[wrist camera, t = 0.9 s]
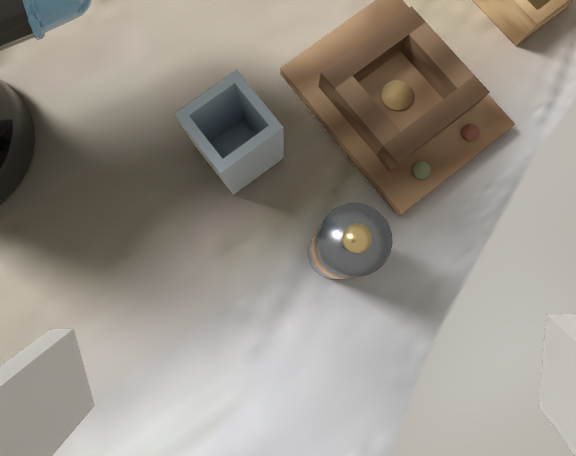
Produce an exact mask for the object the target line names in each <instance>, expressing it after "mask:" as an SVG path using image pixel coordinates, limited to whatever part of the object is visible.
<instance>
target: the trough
mask: <svg viewBox="0 0 576 456" xmlns="http://www.w3.org/2000/svg"><path fill="white" fill-rule="evenodd" d="M473 1H474V2H475V3H476V4H477V5H478V6H479V7H480V8H481V10H482V11H483V12H484V13H485V14H486V15H487V16H488V17H489V18H490V19H491V20H492V21H493V22H494V23H495V24H496V25H497V27H498V28H499V29H500V30H501V31H502V32H503V33H504V34H505V35H506V36H507V37H508V38H509V39H510V40H511V41H512V43H513V44H514V45H515V46H517V45H518V44H519V43H521V42H522V41H523V40H525V39H526V38H527V37H529V36H530V35H531V34H533V33H534V32H535V31H536V30H538V29H539V28H540V27H542V26H543V25H544V24H546V23H547V22H548V21H550V20H551V19H552V18H554V17H555V16H556V15H557V14H559V13H560V12H561V11H563V10H564V9H565V8H567V7H568V6H569V5H570V4H571V3H572V2H573V1H574V0H473Z"/></svg>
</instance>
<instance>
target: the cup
mask: <svg viewBox="0 0 576 456" xmlns="http://www.w3.org/2000/svg"><path fill="white" fill-rule="evenodd" d="M175 116H176V117H177V119H178V120H179V122H180V124H181V125H182V127H183V128H184V130H185V131H186V133H187V134H188V136H189V137H190V139H191V141H192V142H193V144H194V145H195V147H196V148H197V149H198V151H199V152H200V153H201V155H202V156H203V157H204V158H205V160H206V161H207V162H208V164H209V165H210V166H211V167H212V169H213V170H214V171H215V173H216V174H217V175H218V177H219V178H220V179H221V180H222V182H223V183H224V184H225V186H226V187H227V188H228V189H229V191H230V192H231V193H232V195H234V194H236V193H237V192H238V191H240V190H241V189H242V188H244V187H245V186H247V185H248V184H249V183H251V182H252V181H253V180H255V179H256V178H257V177H259V176H260V175H261V174H263V173H264V172H265V171H267V170H268V169H269V168H271V167H272V166H273V165H275V164H276V163H278V162H279V161H280V160H282V159H283V158H284V127H283V126H282V125H281V123H280V122H279V121H278V120H277V118H276V117H275V116H274V115H273V114H272V112H271V111H270V110H269V109H268V107H267V106H266V105H265V104H264V103H263V101H262V100H261V99H260V98H259V96H258V95H257V94H256V93H255V92H254V90H253V89H252V88H251V87H250V85H249V84H248V83H247V82H246V80H245V79H244V78H243V77H242V76H241V74H240V73H239V72H238V71H237V70H236V71H234V72H233V73H232V74H230V75H229V76H227V77H226V78H224V79H223V80H222V81H220V82H219V83H217V84H216V85H214V86H213V87H212V88H210V89H209V90H207V91H206V92H205V93H203V94H202V95H200V96H199V97H197V98H196V99H195V100H193V101H192V102H190V103H189V104H187V105H186V106H185V107H183V108H182V109H180V110H179V111H177V112H176V113H175Z"/></svg>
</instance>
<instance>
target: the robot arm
mask: <svg viewBox="0 0 576 456" xmlns="http://www.w3.org/2000/svg"><path fill="white" fill-rule="evenodd" d="M91 1H92V0H0V51H1V50H4V49H6V48H9V47H11V46H14V45H16V44H19V43H21V42H24V41H26V40H29V39H31V38H34V37H35V38H36V39H37V40H39V39H42V38H43V37H44V35H45V32H47V31H50V30H52V29H54V28H56V27H58V26H60V25H63V24H65V23H67V22H69V21H71V20H73V19H75V18H78V17H79V16H81V15H83V14H84V13H85V12H86V11H87V10H88V8H89V6H90V4H91ZM33 144H34V132H33V124H32V120H31V117H30V114H29V112H28V109H27V107H26V105H25V104H24V102H23V101H22V99H21V98H20V97H19V95H18V94H17V93H16V92H15V91H14V90H13V89H12V88H11V87H9V86H8V85H7V84H5V83H4V82H3V81H1V80H0V203H1V202H2V201H4V200H5V199H6V198H7V197H8V196H9V195H10V194H11V193H12V192H13V190H14V189H15V188H16V187H17V185H18V184H19V182H20V181H21V179H22V178H23V176H24V174H25V172H26V170H27V168H28V165H29V163H30V160H31V156H32V152H33ZM94 406H95V405H94V402H93V398H92V394H91V391H90V387H89V383H88V380H87V376H86V372H85V369H84V365H83V361H82V358H81V354H80V350H79V347H78V343H77V339H76V336H75V332H74V329H50V330H49V331H48V332H46V333H45V334H43V335H42V336H41V337H39V338H38V339H37V340H35V341H34V342H32V343H31V344H30V345H28V346H27V347H26V348H24V349H23V350H21V351H20V352H19V353H17V354H16V355H15V356H13V357H12V358H10V359H9V360H8V361H6V362H5V363H3V364H2V365H1V366H0V456H52V455H53V454H54V453H55V452H56V451H57V449H58V448H59V447H60V446H61V445H62V444H63V442H64V441H65V440H66V439H67V438H68V436H69V435H70V434H71V433H72V432H73V431H74V429H75V428H76V427H77V426H78V425H79V423H80V422H81V421H82V420H83V419H84V418H85V416H86V415H87V414H88V413H89V412H90V411H91V409H92V408H93V407H94ZM539 408H540V409H541V410H542V412H543V413H544V414H545V416H546V417H547V418H548V420H549V421H550V423H551V424H552V425H553V427H554V428H555V430H556V431H557V432H558V434H559V435H560V437H561V438H562V439H563V441H564V442H565V443H566V445H567V446H568V448H569V449H570V450H571V452H572V453H573V455H574V456H576V313H575V314H546V324H545V336H544V348H543V360H542V372H541V385H540V397H539Z"/></svg>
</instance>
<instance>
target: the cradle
mask: <svg viewBox="0 0 576 456" xmlns="http://www.w3.org/2000/svg"><path fill="white" fill-rule="evenodd" d="M280 70H281V75H282V76H283V77H284V79H285V80H286V81H287V82H288V83H289V85H290V86H291V87H292V88H293V89H294V91H295V92H296V93H297V94H298V95H299V97H300V98H301V99H302V100H303V101H304V103H305V104H306V105H307V106H308V107H309V109H310V110H311V111H312V112H313V113H314V115H315V116H316V117H317V118H318V119H319V121H320V122H321V123H322V124H323V125H324V127H325V128H326V129H327V130H328V132H329V133H330V134H331V135H332V136H333V138H334V139H335V140H336V141H337V142H338V144H339V145H340V146H341V147H342V148H343V150H344V151H345V152H346V153H347V154H348V156H349V157H350V158H351V159H352V160H353V162H354V163H355V164H356V165H357V166H358V168H359V169H360V170H361V171H362V172H363V174H364V175H365V176H366V177H367V178H368V180H369V181H370V182H371V183H372V184H373V186H374V187H375V188H376V189H377V190H378V192H379V193H380V194H381V195H382V196H383V198H384V199H385V200H386V201H387V202H388V204H389V205H390V206H391V207H392V208H393V210H394V211H395V212H396V213H397V214H398V216H400V215H402V214H403V213H404V212H405V211H407V210H408V209H409V208H411V207H412V206H413V205H414V204H416V203H417V202H418V201H419V200H421V199H422V198H423V197H424V196H426V195H427V194H428V193H429V192H431V191H432V190H433V189H435V188H436V187H437V186H438V185H440V184H441V183H442V182H443V181H445V180H446V179H447V178H448V177H450V176H451V175H452V174H453V173H455V172H456V171H457V170H459V169H460V168H461V167H462V166H464V165H465V164H466V163H467V162H469V161H470V160H471V159H472V158H474V157H475V156H476V155H477V154H479V153H480V152H481V151H483V150H484V149H485V148H486V147H488V146H489V145H490V144H491V143H493V142H494V141H495V140H496V139H498V138H499V137H500V136H501V135H503V134H504V133H505V132H507V131H508V130H509V129H510V128H512V127H513V126H514V125H515V123H514V122H513V121H512V120H511V119H510V118H509V117H508V116H507V115H506V114H505V112H504V111H503V110H502V109H501V108H500V107H499V106H498V105H497V104H496V103H495V101H494V100H493V99H492V98H491V97H490V96H489V95H488V93H489V91H488V90H487V89H486V87H485V86H484V85H483V84H482V83H481V82H480V81H479V80H478V79H477V78H476V77H475V75H474V74H473V73H472V72H471V71H470V70H469V69H468V68H467V67H466V66H465V64H464V63H463V62H462V61H461V60H460V59H459V58H458V57H457V56H456V55H455V53H454V52H453V51H452V50H451V49H450V48H449V47H448V46H447V45H446V44H445V43H444V41H443V40H442V39H441V38H440V37H439V36H438V35H437V34H436V33H435V32H434V30H433V29H432V28H431V27H430V26H429V25H428V24H427V23H426V22H425V21H424V19H423V18H422V17H421V16H420V15H419V14H418V13H417V12H416V11H415V10H414V9H413V7H412V6H411V7H410V8H409V7H408V6H407V5H406V4H405V3H404V1H403V0H375V1H374V2H373V3H371V4H370V5H368V6H367V7H366V8H364V9H363V10H361V11H360V12H359V13H357V14H356V15H354V16H353V17H352V18H350V19H349V20H347V21H346V22H345V23H343V24H342V25H340V26H339V27H337V28H336V29H335V30H333V31H332V32H330V33H329V34H328V35H326V36H325V37H323V38H322V39H321V40H319V41H318V42H316V43H315V44H314V45H312V46H311V47H309V48H308V49H307V50H305V51H304V52H302V53H301V54H300V55H298V56H297V57H295V58H294V59H293V60H291V61H290V62H288V63H287V64H286V65H284V66H283V67H281V68H280Z"/></svg>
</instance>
